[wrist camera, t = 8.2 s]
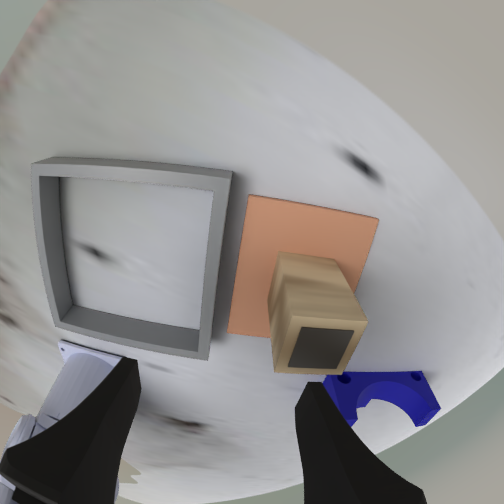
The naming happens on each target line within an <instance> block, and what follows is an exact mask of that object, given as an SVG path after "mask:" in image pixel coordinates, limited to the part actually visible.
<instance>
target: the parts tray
mask: <svg viewBox="0 0 504 504" xmlns="http://www.w3.org/2000/svg"><path fill="white" fill-rule="evenodd" d="M232 174H233V171H226V170H218V169H211V168H203V167H194V166H186V165H176V164H166V163H156V162H144V161H131V160H115V159H95V158H58V157H51V158H48V159H44V160H41V161H38V162H35V163H32V164H31V187H32V203H33V215H34V225H35V233H36V241H37V247H38V254H39V260H40V265H41V271H42V276H43V281H44V285H45V290H46V294H47V298H48V302H49V306H50V310H51V314H52V317H53V321H54V324H55V327H58V328H61V329H65V330H68V331H71V332H75V333H78V334H82V335H85V336H89V337H93V338H97V339H100V340H104V341H108V342H112V343H117V344H121V345H125V346H130V347H134V348H139V349H144V350H148V351H154V352H159V353H164V354H169V355H175V356H181V357H187V358H193V359H200V360H207V361H208V357H209V350H210V343H211V335H212V326H213V317H214V309H215V300H216V292H217V283H218V275H219V267H220V260H221V252H222V244H223V237H224V229H225V222H226V215H227V208H228V201H229V194H230V188H231V181H232ZM59 177H77V178H92V179H105V180H118V181H129V182H139V183H150V184H159V185H168V186H177V187H185V188H193V189H201V190H209V191H214V195H213V202H212V210H211V219H210V227H209V236H208V245H207V254H206V264H205V274H204V285H203V296H202V307H201V319H200V330H193V329H187V328H181V327H175V326H169V325H163V324H158V323H152V322H147V321H142V320H137V319H132V318H127V317H122V316H118V315H113V314H109V313H104V312H100V311H96V310H91V309H87V308H83V307H79V306H75V305H73V303H72V298H71V293H70V288H69V282H68V276H67V270H66V263H65V256H64V248H63V239H62V229H61V217H60V199H59Z"/></svg>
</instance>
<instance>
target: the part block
mask: <svg viewBox="0 0 504 504" xmlns="http://www.w3.org/2000/svg"><path fill="white" fill-rule="evenodd" d="M267 304H268V314H269V324H270V334H271V344H272V354H273V365H274V372H277V373H294V374H322V375H342V373H343V371H344V370H345V368H346V366H347V364H348V362H349V360H350V358H351V356H352V354H353V352H354V350H355V348H356V346H357V344H358V342H359V340H360V338H361V336H362V334H363V332H364V330H365V328H366V326H367V323H368V320H367V318H366V316H365V314H364V312H363V310H362V308H361V307H360V305H359V303H358V301H357V299H356V297H355V295H354V294H353V292H352V290H351V288H350V286H349V285H348V283H347V281H346V279H345V277H344V276H343V274H342V272H341V270H340V268H339V267H338V265H337V263H336V261H335V260H334V259H331V258H324V257H317V256H310V255H304V254H297V253H290V252H283V251H278V254H277V259H276V263H275V268H274V272H273V277H272V281H271V285H270V290H269V294H268V299H267Z"/></svg>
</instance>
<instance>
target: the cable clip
mask: <svg viewBox="0 0 504 504" xmlns="http://www.w3.org/2000/svg"><path fill="white" fill-rule="evenodd" d="M322 384H323V385H324V387H325V389H326V390H327V392H328V394H329V395H330V397H331V398H332V400H333V402H334V403H335V405H336V406H337V408H338V409H339V411H340V412H341V414H342V415H343V417H344V418H345V420H346V421H347V423H348V424H349V425H350V427H352V425H353V424H354V423H355V422H356V421H357V420H358V418H357V412H356V408H360V407H365V406H366V405H367V404H368V403H369V401H370V400H371V399H380V400H385V401H388V402H390V403H393V404H395V405H396V406H398V407H400V408H401V409H402V410H404V411H405V412H406V413H407V414H408V415H409V417H410V418H411V419H412V421H413V423H414V424H415V427H418V426H423V425H426V424H427V423H428V422H429V421H430V420H431V419H432V418H433V417H434V416H435V414H436V413H437V412H438V411H439V410H440V409H441V408H440V406H439V404H438V402H437V400H436V398H435V396H434V394H433V392H432V390H431V388H430V386H429V384H428V382H427V380H426V378H425V377H424V375H423V373H422V371H408V372H343V373H342V375H327V376H326V378H325V380H324V381H323V383H322Z"/></svg>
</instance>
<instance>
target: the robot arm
mask: <svg viewBox="0 0 504 504" xmlns="http://www.w3.org/2000/svg"><path fill="white" fill-rule="evenodd" d="M58 346H59V349H60V352H61V355H62V357H63V360H64V363H65V365H64V367H63V368H62V370H61V372H60V374H59V375H58V377H57V379H56V381H55V383H54V384H53V386H52V388H51V390H50V392H49V394H48V396H47V398H46V400H45V401H44V403H43V405H42V407H41V409H40V411H39V413H38V415H37V416H36V417H34V416H32V415H31V414H28V415H22V416H21V418H20V419H19V421H18V422H17V424H16V426H15V427H14V429H13V431H12V433H11V435H10V437H9V439H8V441H7V443H6V446H5V448H4V451H3V454H2V457H1V460H0V504H115V501H116V499H117V496H118V491H119V479H118V471H119V465H120V460H121V455H122V452H123V448H124V445H125V442H126V439H127V436H128V433H129V430H130V428H131V425H132V422H133V419H134V416H135V413H136V411H137V406H138V402H139V397H140V393H141V383H140V377H139V370H138V362H137V360H135V359H131V358H127V357H119V356H115V355H111V354H107V353H103V352H99V351H96V350H92V349H89V348H85V347H82V346H78V345H75V344H72V343H68V342H65V341H62V340H60V341H59V342H58ZM295 424H296V433H297V439H298V445H299V451H300V456H301V462H302V468H303V476H304V504H427V502H426V499H425V496H424V492H423V491H422V489H420V488H419V487H417V486H415V485H413V484H412V483H410V482H408V481H406V480H405V479H403V478H402V477H401V476H399V475H398V474H396V473H395V472H394V471H392V470H391V469H390V468H389V467H388V466H386V465H385V464H384V463H383V462H382V461H381V460H379V459H378V458H377V457H376V456H375V455H374V454H373V453H372V452H371V451H370V450H369V449H368V447H367V446H366V445H365V444H364V443H363V442H362V441H361V440H360V438H359V437H358V436H357V435H356V433H355V432H354V431H353V429H352V428H351V427H350V425H349V424H348V423H347V421H346V420H345V418H344V417H343V415H342V414H341V412H340V411H339V409H338V408H337V406H336V405H335V403H334V402H333V400H332V398H331V397H330V395H329V394H328V392H327V390H326V389H325V387H324V385H323V384H322V382H308V383H307V385H306V387H305V389H304V391H303V393H302V395H301V397H300V399H299V401H298V403H297V405H296V407H295Z"/></svg>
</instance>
